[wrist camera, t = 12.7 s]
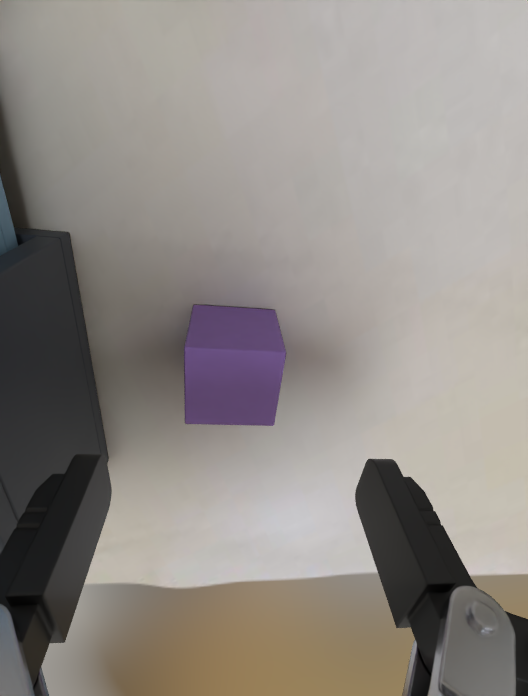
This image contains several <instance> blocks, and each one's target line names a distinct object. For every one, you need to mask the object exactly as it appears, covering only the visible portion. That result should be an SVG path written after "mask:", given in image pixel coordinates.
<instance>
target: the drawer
mask: <svg viewBox="0 0 528 696" xmlns="http://www.w3.org/2000/svg"><path fill="white" fill-rule="evenodd" d="M17 246H18V243H17V239H16V235H15V231H14V227H13V223H12V219H11V215H10V211H9V207H8V203H7V199H6V195H5V191H4V187H3V183H2V179H1V175H0V255H2V254H4V253H6V252H8V251H10V250H12V249H14V248H16V247H17Z"/></svg>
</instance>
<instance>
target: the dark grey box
mask: <svg viewBox="0 0 528 696" xmlns="http://www.w3.org/2000/svg"><path fill="white" fill-rule="evenodd" d="M14 231H15V235H16V239H17V243H18V246H17V247H16V248H14V249H12V250H10V251H8V252H6V253H4V254H2V255H0V554H1V552H2V550H3V548H4V547H5V545H6V543H7V541H8V539H9V537H10V536H11V534H12V532H13V530H14V529H16V527H17V523H18V521H19V519H20V518H21V516H22V514H23V513H24V512H25V509H26V507H27V505H28V503H29V501H30V500H31V498H32V496H33V494H34V492H35V490H36V489H37V488H38V487H39V486H40V485H41V484H42V483H43V482H45V481H46V480H47V479H48V478H49V477H50V476H51V475H52V474H65V472H66V470H67V468H68V466H69V464H70V462H71V460H72V459H73V457H74V456H75V455H76V454H104V455H105V457H106V461H107V462H108V453H107V448H106V442H105V436H104V430H103V425H102V419H101V413H100V408H99V402H98V396H97V390H96V385H95V379H94V373H93V367H92V362H91V356H90V350H89V345H88V339H87V333H86V327H85V322H84V316H83V310H82V304H81V299H80V293H79V287H78V282H77V276H76V270H75V264H74V259H73V253H72V247H71V241H70V236H69V233H68V232H58V231H46V230H35V229H23V228H14Z"/></svg>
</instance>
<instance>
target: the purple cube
mask: <svg viewBox="0 0 528 696" xmlns="http://www.w3.org/2000/svg"><path fill="white" fill-rule="evenodd" d="M285 357H286V350H285V347H284V343H283V339H282V335H281V331H280V327H279V323H278V320H277V316H276V312H275V310H269V309H254V308H238V307H223V306H207V305H193V309H192V313H191V318H190V323H189V328H188V332H187V337H186V342H185V346H184V384H185V423H186V424H217V425H263V426H273V425H274V422H275V416H276V410H277V404H278V398H279V392H280V387H281V381H282V375H283V369H284V363H285Z"/></svg>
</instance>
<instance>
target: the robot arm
mask: <svg viewBox="0 0 528 696" xmlns="http://www.w3.org/2000/svg"><path fill="white" fill-rule="evenodd" d="M355 499H356V506H357V510H358V513H359V516H360V519H361V522H362V525H363V528H364V531H365V534H366V537H367V540H368V543H369V546H370V549H371V552H372V555H373V558H374V561H375V564H376V567H377V570H378V573H379V576H380V579H381V582H382V585H383V588H384V591H385V594H386V597H387V600H388V603H389V606H390V609H391V612H392V615H393V618H394V622H395V625H396V628H407V627H411V629H412V631H413V634H414V637H415V641H414V643H413V646H412V652H411V656H410V661H409V666H408V670H407V675H406V680H405V684H404V689H403V694H402V696H528V619H526V618H522V617H519V616H516V615H513V614H511V613H508V612H506V611H504V610H503V608H502V607H501V606H500V605H499V604H498V603H497V602H496V601H495V600H494V599H493V598H492V597H491V596H490V595H488V594H487V593H485V592H484V591H482V590H480V589H478V588H477V587H476V586H475V584H474V583H473V581H472V579H471V578H470V576H469V574H468V572H467V570H466V568H465V566H464V565H463V563H462V561H461V559H460V557H459V555H458V553H457V551H456V550H455V548H454V546H453V544H452V542H451V540H450V538H449V537H448V535H447V533H446V531H445V529H444V527H443V526H441V524H440V520H439V518H438V516H437V514H436V512H435V511H433V507H432V505H431V503H430V501H429V499H428V497H427V496H426V494H425V492H424V491H423V490H422V489H421V488H420V486H419V485H418V484H417V483H416V482H415V481H414V480H413V479H412V478H411V477H403V475H402V473H401V471H400V469H399V467H398V465H397V463H396V462H395V461H394V460H392V459H368V460H367V462H366V464H365V467H364V470H363V472H362V475H361V477H360V480H359V483H358V485H357V488H356V494H355ZM110 501H111V483H110V477H109V472H108V466H107V461H106V457H105V455H104V454H76V455H75V456H74V457H73V459H72V460H71V462H70V464H69V466H68V468H67V470H66V472H65V474H52V475H51V476H50V477H49V478H48V479H47V480H46V481H45V482H43V483H42V484H41V485H40V486H39V487H38V488H37V489H36V490H35V492H34V494H33V496H32V498H31V500H30V501H29V503H28V505H27V507H26V509H25V512H24V513H23V514H22V516H21V518H20V519H19V521H18V523H17V527H16V529H14V530H13V532H12V534H11V536H10V537H9V539H8V541H7V543H6V545H5V547H4V548H3V550H2V552H1V554H0V696H49V694H48V690H47V687H46V683H45V679H44V676H43V672H42V668H41V665H42V663H43V660H44V657H45V654H46V652H47V649H48V646H49V643H64V642H65V640H66V637H67V634H68V631H69V628H70V625H71V622H72V619H73V616H74V613H75V610H76V606H77V603H78V600H79V597H80V594H81V591H82V588H83V585H84V582H85V579H86V576H87V573H88V570H89V567H90V564H91V561H92V558H93V555H94V552H95V549H96V546H97V543H98V540H99V537H100V534H101V531H102V528H103V525H104V522H105V519H106V516H107V513H108V510H109V506H110Z"/></svg>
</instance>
